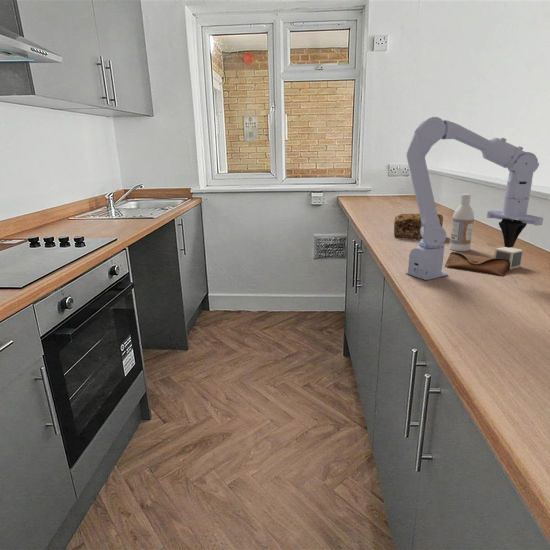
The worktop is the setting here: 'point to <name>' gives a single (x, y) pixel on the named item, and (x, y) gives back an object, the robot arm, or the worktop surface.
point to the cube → (510, 255)
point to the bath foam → (462, 225)
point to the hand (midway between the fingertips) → (508, 246)
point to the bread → (409, 226)
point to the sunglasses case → (478, 264)
